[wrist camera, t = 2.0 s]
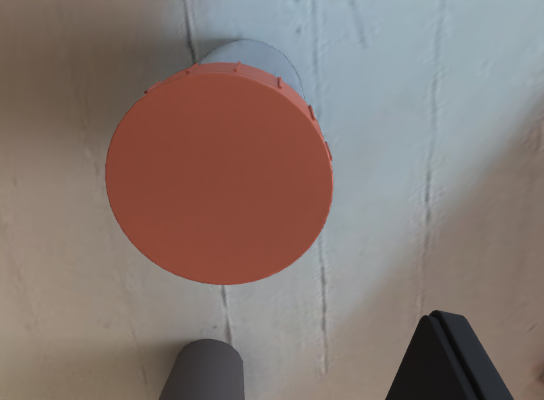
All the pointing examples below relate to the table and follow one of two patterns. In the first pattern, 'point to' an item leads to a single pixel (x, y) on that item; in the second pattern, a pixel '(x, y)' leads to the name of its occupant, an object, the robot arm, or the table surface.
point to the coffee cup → (206, 373)
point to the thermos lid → (220, 174)
